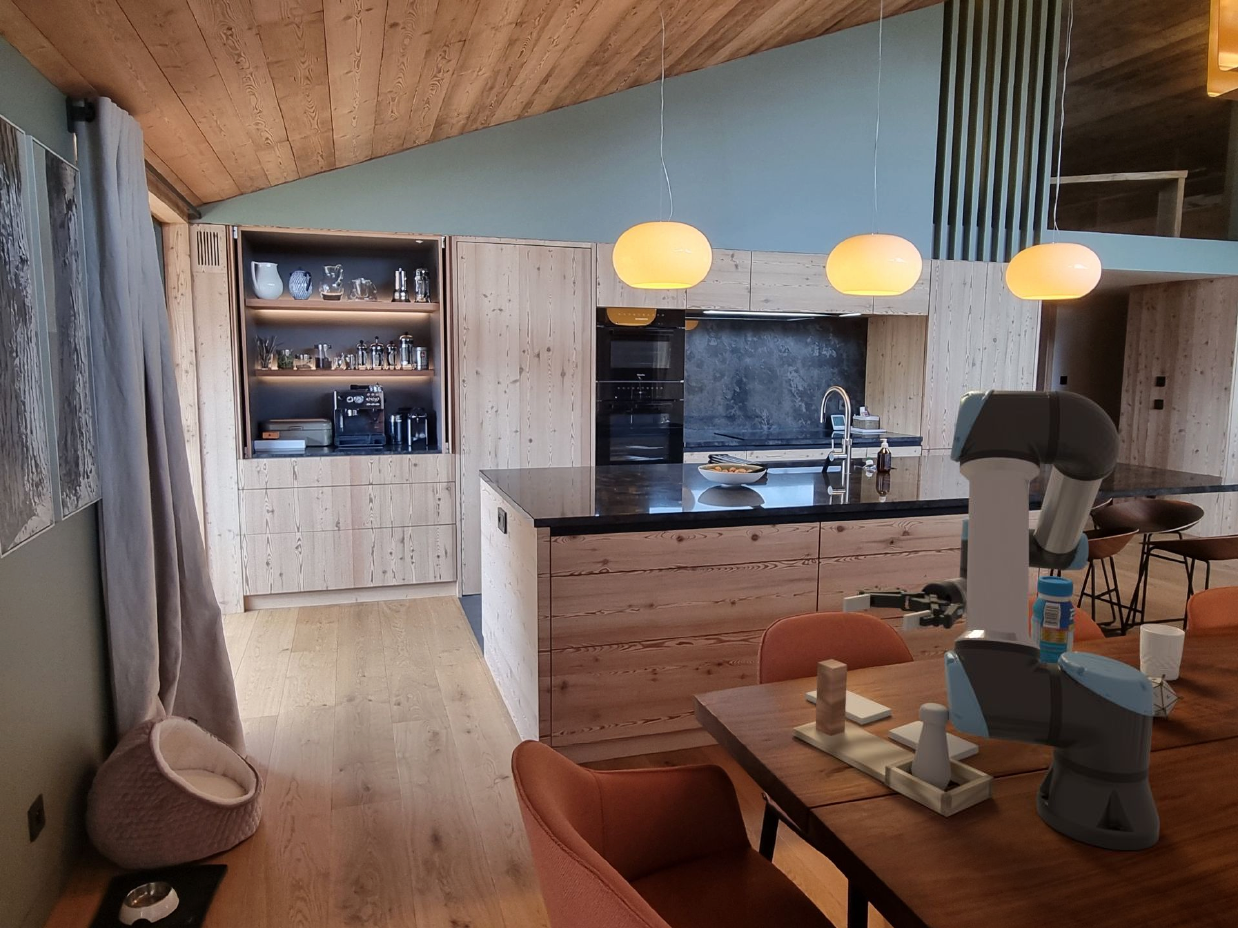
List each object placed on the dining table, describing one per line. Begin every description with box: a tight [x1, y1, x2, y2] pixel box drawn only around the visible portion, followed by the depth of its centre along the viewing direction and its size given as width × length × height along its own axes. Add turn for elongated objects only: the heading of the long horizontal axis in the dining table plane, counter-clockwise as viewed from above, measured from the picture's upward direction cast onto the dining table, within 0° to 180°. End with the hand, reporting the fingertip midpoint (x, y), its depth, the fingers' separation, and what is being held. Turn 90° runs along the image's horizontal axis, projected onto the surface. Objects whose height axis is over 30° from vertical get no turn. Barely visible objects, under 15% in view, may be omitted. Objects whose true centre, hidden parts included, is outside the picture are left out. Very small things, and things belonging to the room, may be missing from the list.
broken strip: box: [805, 689, 979, 761], centre depth 149 cm, size 32×8×1 cm, turn 32°
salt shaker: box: [911, 702, 952, 792], centre depth 126 cm, size 6×6×13 cm
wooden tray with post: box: [792, 658, 995, 818], centre depth 133 cm, size 32×11×13 cm, turn 32°
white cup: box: [1139, 623, 1186, 681], centre depth 174 cm, size 8×8×10 cm
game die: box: [1147, 674, 1185, 722], centre depth 153 cm, size 9×8×10 cm
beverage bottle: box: [1030, 575, 1076, 663], centre depth 177 cm, size 8×8×20 cm
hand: (873, 614), depth 147 cm, fingers open, 13 cm apart
